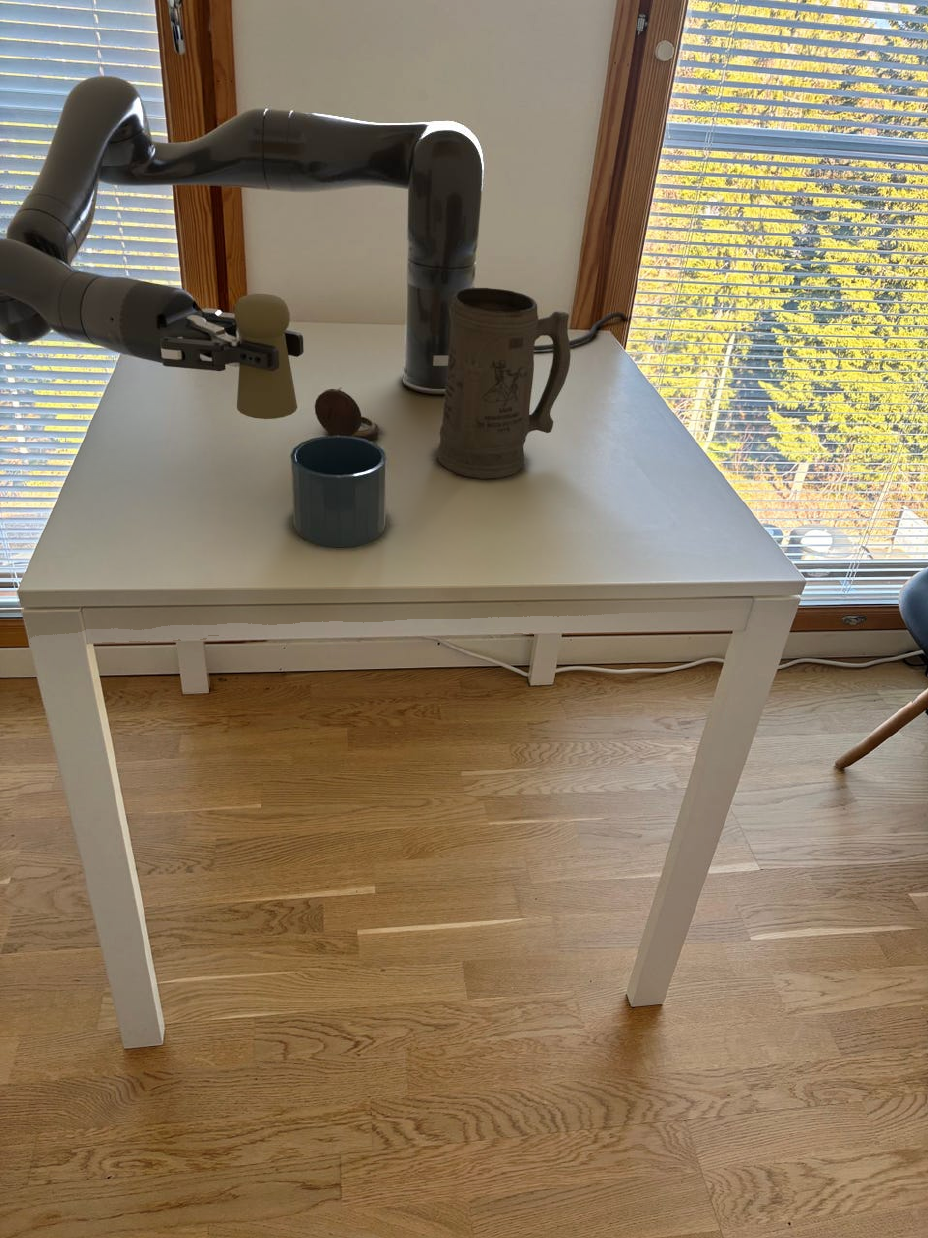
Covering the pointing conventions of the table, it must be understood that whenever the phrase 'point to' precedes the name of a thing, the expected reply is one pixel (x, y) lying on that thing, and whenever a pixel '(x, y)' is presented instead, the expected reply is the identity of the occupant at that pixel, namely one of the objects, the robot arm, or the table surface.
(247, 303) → the cork
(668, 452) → the table surface
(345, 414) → the compass
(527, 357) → the beer stein
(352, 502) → the tumbler
